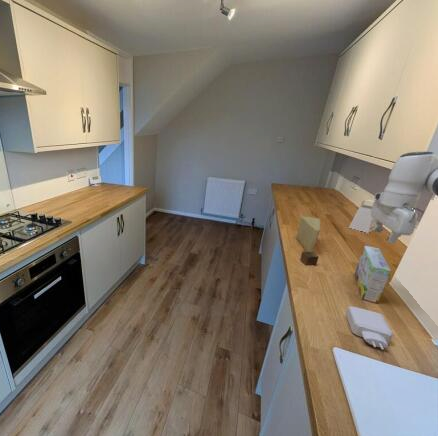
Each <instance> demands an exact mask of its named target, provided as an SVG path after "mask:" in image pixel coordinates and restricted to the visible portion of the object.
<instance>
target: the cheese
mask: <svg viewBox="0 0 438 436" xmlns="http://www.w3.org/2000/svg"><path fill="white" fill-rule="evenodd" d="M321 225H322V219H321V218H318V217H311V216H301V217H300V221H299V225H298V230H297V233H296V237H295V238H296V239H297V241H298V242H299V243H300V244H301V246H302V247H303V249H304V252H313V253H314V250H315V246H316V243H317V241H318V238H319V235H320V232H321Z"/></svg>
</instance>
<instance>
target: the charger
mask: <svg viewBox="0 0 438 436" xmlns="http://www.w3.org/2000/svg"><path fill="white" fill-rule="evenodd" d="M345 317H346V319H347V322H348V325H349V327H350V330H351V333H352V334H354V335H356V336H357V337H360V338H363V340H364V341H365V342H366V343H368V344H369V345H371V346H373V347H374V348H376V347H378V348H380V349H381V350H385V349H384V348H389V344H390V342H391V340H392V338H393V336H394V333H393V331H392V330H391V328H390V327H389V325H388V323H387V321H386V319H385V317H384V316H383V315H382V313H379V312H375V311H372V310H368V309H364V308H361V307H357V306H351V305H350V306H348V307H347V310H346V313H345Z"/></svg>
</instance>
